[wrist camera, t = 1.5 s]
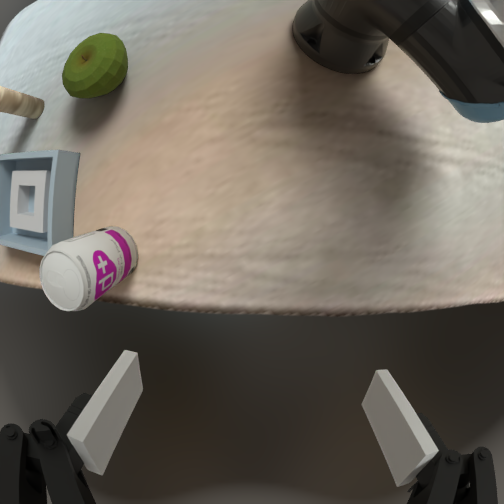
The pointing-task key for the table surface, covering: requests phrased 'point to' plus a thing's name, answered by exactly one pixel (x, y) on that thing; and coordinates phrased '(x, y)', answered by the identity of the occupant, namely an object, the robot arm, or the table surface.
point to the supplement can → (87, 267)
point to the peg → (20, 104)
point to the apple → (95, 66)
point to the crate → (37, 199)
